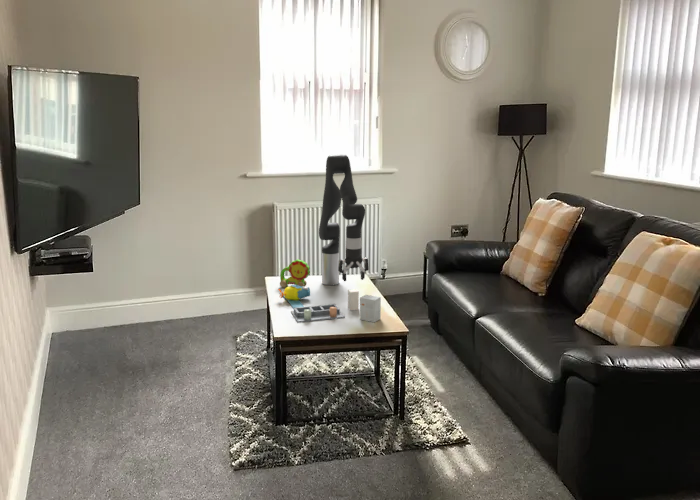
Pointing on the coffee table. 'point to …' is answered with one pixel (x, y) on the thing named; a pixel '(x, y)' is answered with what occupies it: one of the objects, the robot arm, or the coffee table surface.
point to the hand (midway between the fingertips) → (353, 280)
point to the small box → (370, 308)
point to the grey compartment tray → (317, 313)
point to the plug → (353, 299)
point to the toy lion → (295, 273)
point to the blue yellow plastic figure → (295, 294)
